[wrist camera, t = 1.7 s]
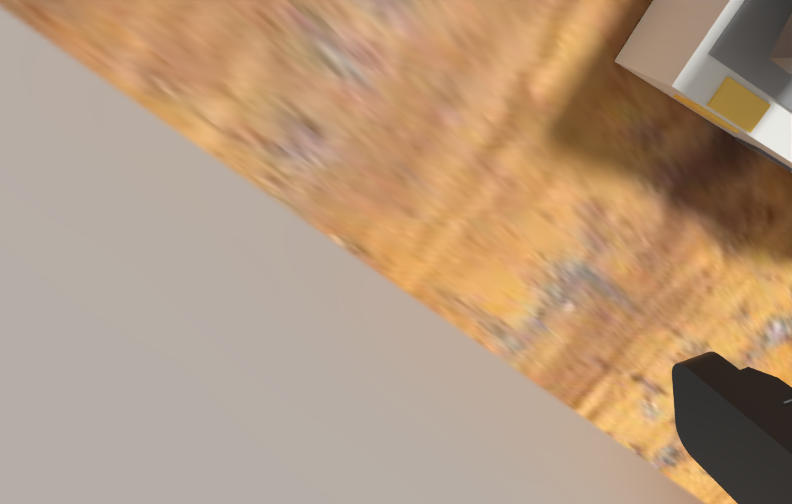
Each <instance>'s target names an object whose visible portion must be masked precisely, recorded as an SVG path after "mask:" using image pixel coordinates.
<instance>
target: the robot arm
mask: <svg viewBox="0 0 792 504" xmlns="http://www.w3.org/2000/svg"><path fill="white" fill-rule="evenodd" d="M672 381H673V395H674V409H675V423H676V429H677V432H678V435H679V438H680V440H681V442H682V444H683V446H684V447H685V449H686V450H687V452H688V453H689V454H690V455H691V457H692V458H693V459H694V460H695V461H696V462H697V463H698V464H699V465H700V466H701V467H702V468H703V469H704V470H705V471H706V472H707V473H708V474H709V475H710V476H711V477H712V478H713V479H714V480H715V481H716V482H717V483H718V484H719V485H720V486H721V487H722V488H723V489H724V490H725V491H726V492H727V493H728V494H729V495H730V496H731V497H732V498H733V499H734V500H735V501H736V502H737V503H738V504H792V387H790V386H789V385H787V384H786V383H785V382H783V381H782V380H780V379H779V378H777V377H774V376H772V375H769V374H766V373H763V372H761V371H758V370H755V369H753V368H750V367H747V368H744V369H741V370H739V369H738V368H736V367H735V366H734V365H732V364H731V363H730V362H728V361H727V360H726V359H724V358H723V357H722V356H720V355H719V354H717V353H715V352H707V353H704V354H702V355H699V356H696V357H693V358H691V359H688V360H685V361H682V362H680V363H677V364H675V365H674V366H673V369H672Z"/></svg>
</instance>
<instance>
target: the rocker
mask: <svg viewBox="0 0 792 504" xmlns="http://www.w3.org/2000/svg"><path fill="white" fill-rule="evenodd" d="M768 59H770V60H771V61H773V62H774V63H775V64H777V65H778V66H780V67H781V68H782V69H784V70H785V71H787V72H788V73H789V74H791V75H792V12H791V14H790V16H789V18H788V20H787V22H786V24H785V26H784V28H783V30H782V32H781V34H780V36H779V38H778V40H777V42H776V44H775V46H774V48H773V50H772V52H771V54H770V56H769V58H768Z"/></svg>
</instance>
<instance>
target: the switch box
mask: <svg viewBox="0 0 792 504" xmlns="http://www.w3.org/2000/svg"><path fill="white" fill-rule="evenodd" d="M791 12H792V0H653V1H652V3H651V4H650V6H649V7H648V9H647V10H646V12H645V14H644V15H643V17H642V18H641V20H640V21H639V23H638V24H637V26H636V28H635V29H634V31H633V32H632V34H631V35H630V37H629V39H628V40H627V42H626V43H625V45H624V46H623V48H622V49H621V51H620V53H619V54H618V56H617V57H616V59H615V60H614V62H616V63H617V64H619V65H621V66H622V67H624V68H625V69H627V70H629V71H630V72H632V73H633V74H635V75H637V76H638V77H640V78H641V79H643V80H645V81H646V82H648V83H649V84H651V85H652V86H654V87H656V88H657V89H659V90H660V91H662V92H664V93H665V94H667V95H668V96H670V97H672V98H673V99H675V100H676V101H678V102H680V103H681V104H683V105H684V106H686V107H688V108H689V109H691V110H692V111H694V112H696V113H697V114H699V115H700V116H702V117H704V118H705V119H707V120H708V121H710V122H712V123H713V124H715V125H716V126H718V127H720V128H721V129H723V130H724V131H726V132H727V133H729V134H731V135H732V136H734V137H735V139H734V140H736V141H737V142H739V143H740V144H742V145H744V146H745V147H747V148H748V149H750V150H752V151H753V152H755V153H756V154H758V155H760V156H761V157H763V158H764V159H766V160H768V161H770V162H772V163H774V164H776V165H778V166H780V167H782V168H784V169H786V170H788V171H790V172H791V173H792V75H791V74H789V73H788V72H787V71H785V70H784V69H782V68H781V67H780V66H778V65H777V64H775V63H774V62H773V61H771V60H770V59H768V58H769V56H770V54H771V52H772V50H773V48H774V46H775V44H776V42H777V40H778V38H779V36H780V34H781V32H782V30H783V28H784V26H785V24H786V22H787V20H788V18H789V16H790V14H791Z"/></svg>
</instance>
